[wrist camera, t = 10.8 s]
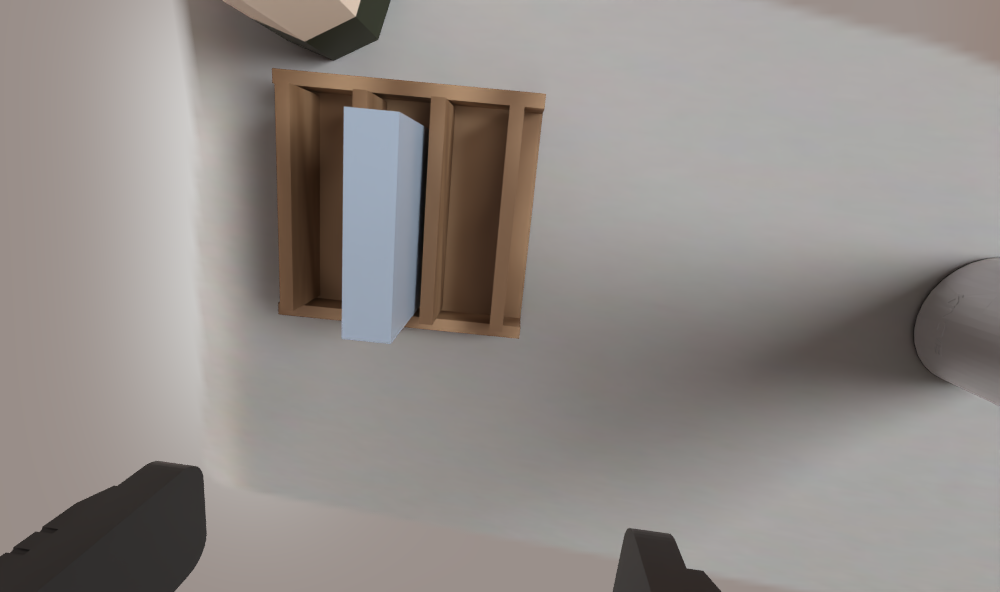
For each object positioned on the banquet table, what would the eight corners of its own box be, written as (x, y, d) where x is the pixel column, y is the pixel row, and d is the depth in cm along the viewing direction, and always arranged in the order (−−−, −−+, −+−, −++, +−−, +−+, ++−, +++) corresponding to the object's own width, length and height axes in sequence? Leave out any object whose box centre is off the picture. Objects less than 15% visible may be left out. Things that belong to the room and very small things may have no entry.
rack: (543, 102, 30) (548, 87, 25) (518, 324, 33) (519, 349, 28) (297, 79, 30) (252, 59, 25) (300, 301, 34) (262, 323, 28)
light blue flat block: (434, 132, 29) (399, 111, 20) (425, 299, 32) (390, 344, 23) (395, 128, 29) (343, 106, 20) (389, 295, 32) (341, 338, 23)
